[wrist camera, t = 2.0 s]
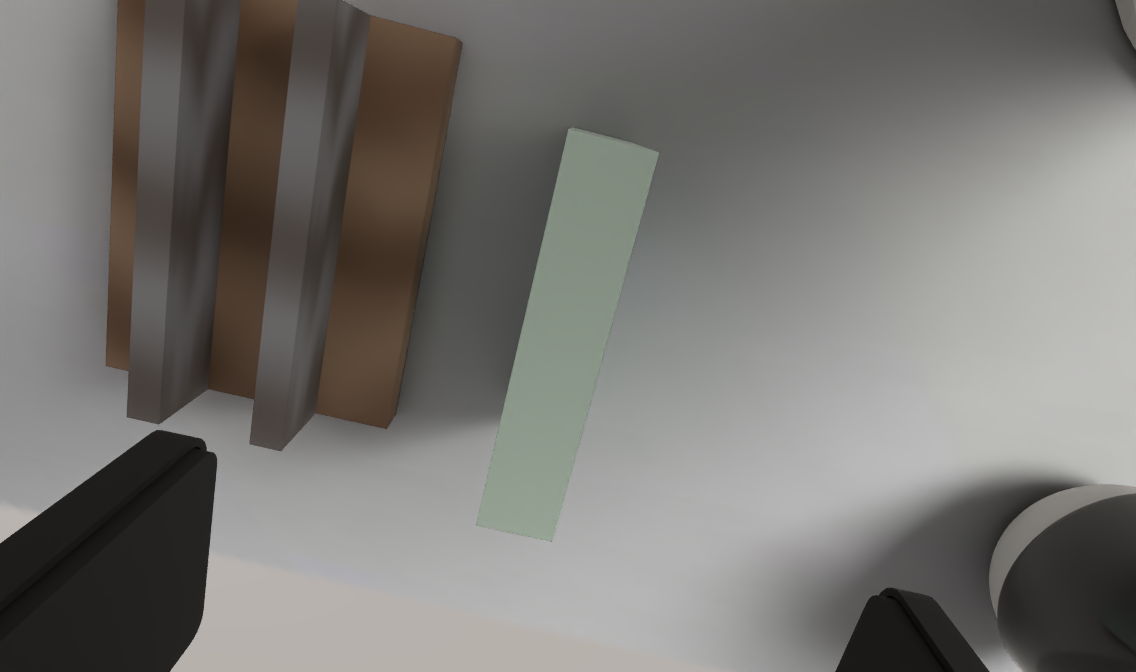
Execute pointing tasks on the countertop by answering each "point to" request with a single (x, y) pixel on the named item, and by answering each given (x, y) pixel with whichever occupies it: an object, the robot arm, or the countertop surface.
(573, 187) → the door panel
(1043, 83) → the countertop surface
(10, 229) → the countertop surface
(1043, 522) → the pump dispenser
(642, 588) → the countertop surface
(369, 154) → the track board
